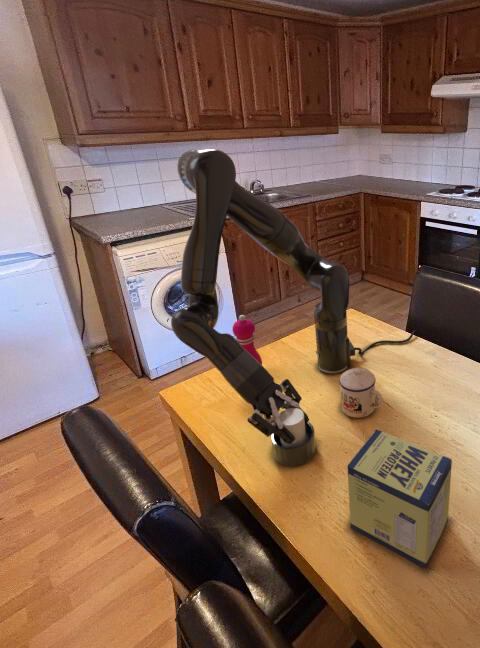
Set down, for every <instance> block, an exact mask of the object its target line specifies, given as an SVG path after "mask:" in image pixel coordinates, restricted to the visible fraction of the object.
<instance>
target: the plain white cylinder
mask: <svg viewBox="0 0 480 648" xmlns="http://www.w3.org/2000/svg"><path fill="white" fill-rule="evenodd" d="M302 410H303V409H302ZM302 410H300V409H298V408H288V409H282V411H281V412H279V414H280V420H281V422H282V425H283V427H284V426H285V427H286V428H287V429H288V430H289V431H290V432H291V434H292V435H293V436H294V437H295V440H294V442H292V443H291V444H288V443H285V442H284V441H283V440H282V439H281V438H280V439H281V446H282V447H286V448H294V447H298V446H300V445H302V444H304V443H306V442H307V441H306V431H305V420H304V413H303V411H304V410H303V411H302Z"/></svg>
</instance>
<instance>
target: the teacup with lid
mask: <svg viewBox="0 0 480 648" xmlns="http://www.w3.org/2000/svg"><path fill="white" fill-rule="evenodd" d="M338 380H339V382H338V383H339V385H340V400H341V410H342V412H343V413H344V414H345V415H347V416H348V417H350V418H354V419H355V418H357V419H360V418H364V417H367V416H370V415H371V414H372V413H373V412H374V411H375V409H379V408H380V407H381V406H383V403H384V398H383V395H382V394H381V392H379V391H378V390H376V389H375V388H376V385H375V384H376V381H377V380H376V376H375V374H374V373H373V372H372V371H370V370H368V369H367V368H362V367H353V368H349V369H346V370H345V371H343V373H342V374H341V375H340V377H339V379H338ZM376 397H377V399H378V403H376Z"/></svg>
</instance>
